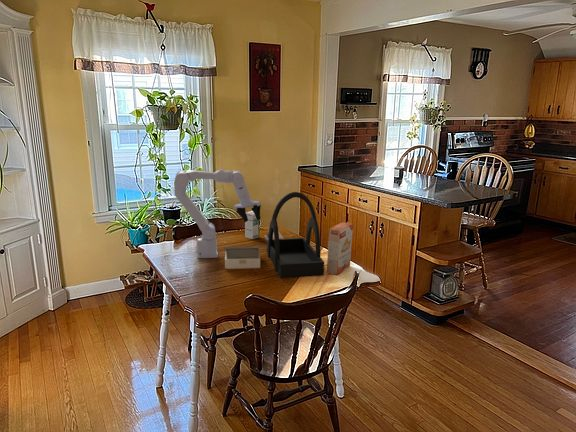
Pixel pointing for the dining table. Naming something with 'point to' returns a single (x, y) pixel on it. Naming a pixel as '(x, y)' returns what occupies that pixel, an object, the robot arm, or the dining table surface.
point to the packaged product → (273, 236)
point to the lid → (242, 248)
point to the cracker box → (339, 248)
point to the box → (242, 258)
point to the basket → (295, 246)
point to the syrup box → (251, 226)
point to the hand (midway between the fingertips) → (252, 220)
